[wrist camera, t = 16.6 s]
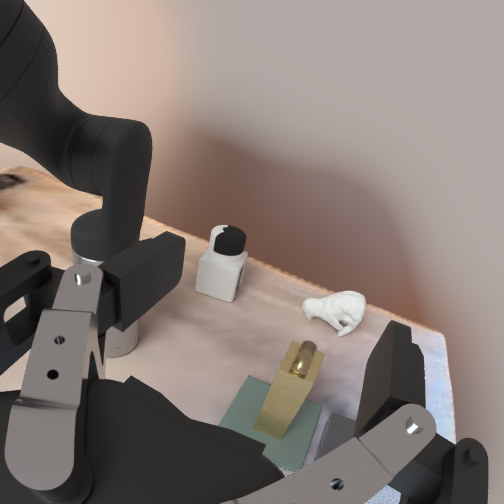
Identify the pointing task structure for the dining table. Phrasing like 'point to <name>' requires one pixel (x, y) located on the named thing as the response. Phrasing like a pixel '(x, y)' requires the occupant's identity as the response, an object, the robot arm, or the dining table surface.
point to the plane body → (335, 434)
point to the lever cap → (289, 388)
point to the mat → (278, 451)
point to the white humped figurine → (337, 310)
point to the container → (222, 263)
